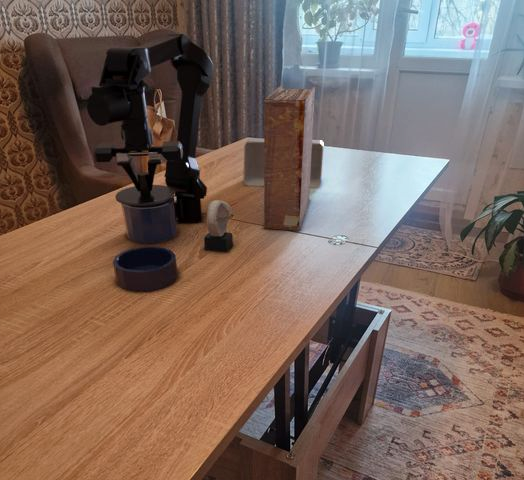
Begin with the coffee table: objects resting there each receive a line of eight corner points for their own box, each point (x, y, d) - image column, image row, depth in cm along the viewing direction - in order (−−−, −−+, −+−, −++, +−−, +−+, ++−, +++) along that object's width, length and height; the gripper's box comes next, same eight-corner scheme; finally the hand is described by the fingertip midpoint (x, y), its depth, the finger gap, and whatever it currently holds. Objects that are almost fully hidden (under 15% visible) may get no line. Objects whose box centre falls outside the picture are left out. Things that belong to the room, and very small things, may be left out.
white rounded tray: (321, 174, 166) (324, 135, 159) (320, 188, 153) (323, 146, 146) (250, 172, 169) (249, 133, 162) (243, 185, 156) (242, 144, 149)
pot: (179, 223, 128) (176, 191, 123) (175, 242, 118) (171, 208, 113) (131, 225, 127) (126, 192, 122) (123, 243, 117) (117, 209, 112)
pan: (179, 264, 108) (177, 245, 105) (174, 290, 97) (172, 270, 95) (122, 265, 107) (119, 247, 104) (111, 292, 97) (107, 272, 94)
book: (278, 198, 145) (280, 85, 127) (309, 200, 143) (315, 86, 126) (264, 229, 124) (263, 99, 107) (299, 231, 123) (305, 101, 106)
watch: (235, 242, 118) (233, 197, 111) (224, 255, 111) (221, 208, 105) (213, 239, 119) (211, 195, 113) (201, 252, 113) (198, 206, 106)
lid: (177, 188, 118) (175, 164, 115) (173, 207, 107) (170, 181, 104) (121, 190, 118) (117, 166, 114) (111, 209, 107) (106, 183, 103)
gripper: (180, 109, 109) (187, 179, 118) (97, 111, 108) (110, 181, 117) (177, 118, 100) (184, 193, 109) (86, 121, 99) (101, 196, 108)
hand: (145, 190), depth 111 cm, fingers closed on lid, 2 cm apart
